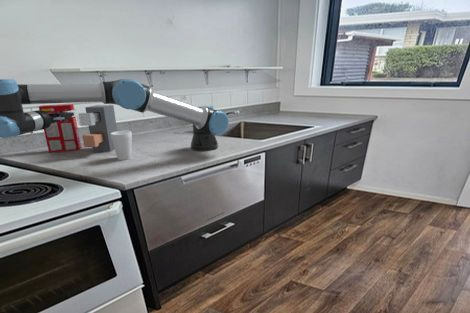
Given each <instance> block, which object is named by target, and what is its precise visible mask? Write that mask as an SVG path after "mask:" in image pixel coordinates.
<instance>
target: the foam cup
mask: <svg viewBox="0 0 470 313" xmlns="http://www.w3.org/2000/svg"><path fill="white" fill-rule="evenodd" d="M110 134H111V139H112V141H113V144H114V148H115V150H114V151H115V154H116V157H117V160H119V161H126V160H130V159H132V155H133V154H132V151H133V150H132V148H133V147H132V145H133V144H132V141H133V140H132V138H133V134H132V131H131V130H117V132H112V133H110Z"/></svg>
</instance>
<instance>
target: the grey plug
mask: <svg viewBox="0 0 470 313" xmlns="http://www.w3.org/2000/svg"><path fill="white" fill-rule="evenodd" d="M77 116H78V120H79V125H80V126H81V127H82V126H83V127H85V126H86V127H89V126H92V125H95V122H98V121H101V117H100V112H93V113H86V112H80V113H77Z"/></svg>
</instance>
